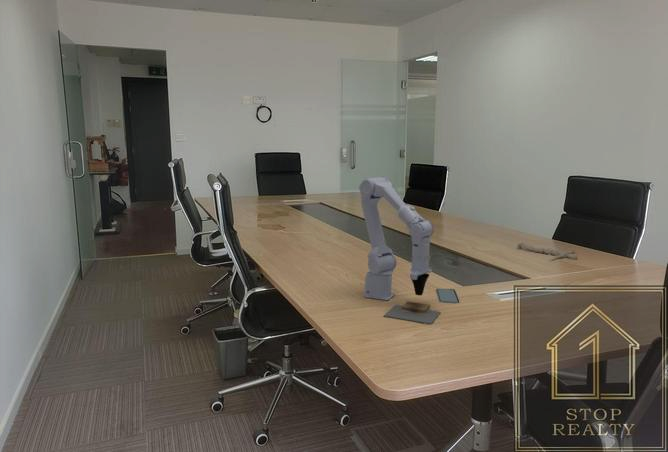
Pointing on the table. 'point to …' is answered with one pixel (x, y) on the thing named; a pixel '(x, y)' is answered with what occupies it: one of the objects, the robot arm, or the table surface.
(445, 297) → the smartphone
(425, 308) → the brown wooden block
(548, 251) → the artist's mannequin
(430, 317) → the mat
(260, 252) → the table surface
